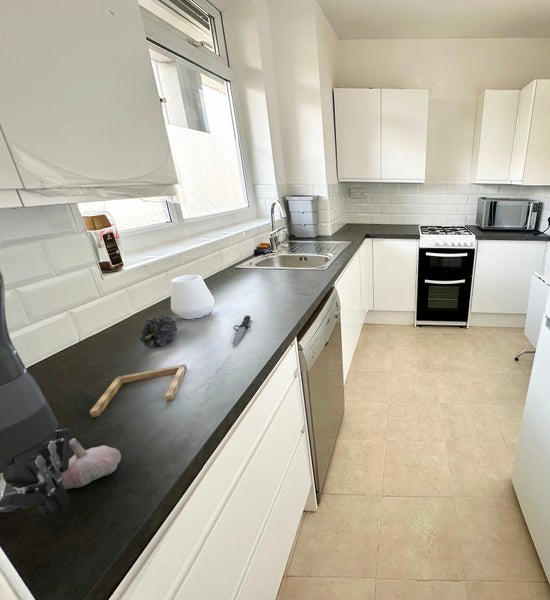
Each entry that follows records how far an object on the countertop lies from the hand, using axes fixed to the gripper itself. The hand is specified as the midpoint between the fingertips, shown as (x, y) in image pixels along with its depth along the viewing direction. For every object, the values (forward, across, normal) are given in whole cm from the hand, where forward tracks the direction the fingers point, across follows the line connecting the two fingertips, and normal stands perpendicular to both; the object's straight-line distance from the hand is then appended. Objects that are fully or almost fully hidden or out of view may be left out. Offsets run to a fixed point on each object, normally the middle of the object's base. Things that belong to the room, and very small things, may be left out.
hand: (58, 510), depth 44 cm
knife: (+3, -56, +18) cm, 59 cm away
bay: (+2, -31, 0) cm, 31 cm away
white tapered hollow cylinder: (+3, -78, +2) cm, 78 cm away
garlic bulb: (+2, -8, 0) cm, 8 cm away
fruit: (+3, -60, -3) cm, 60 cm away
